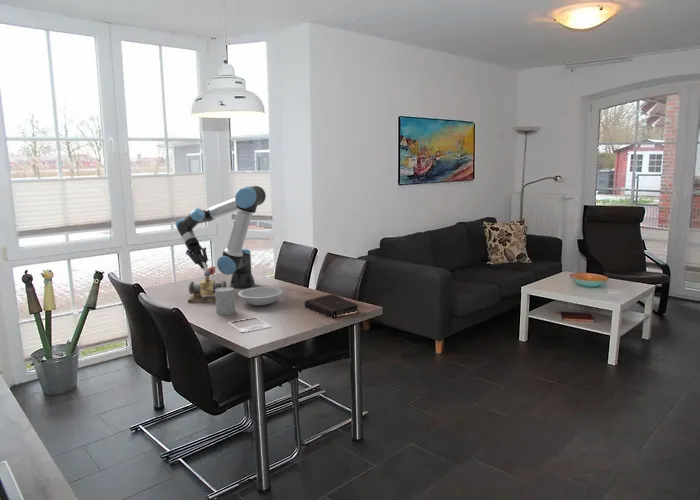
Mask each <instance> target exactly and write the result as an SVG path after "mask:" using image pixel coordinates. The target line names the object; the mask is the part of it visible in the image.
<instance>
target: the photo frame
mask: <svg viewBox="0 0 700 500" xmlns="http://www.w3.org/2000/svg"><path fill="white" fill-rule="evenodd" d="M252 318H253V319H256V320H258V321H259V320H260V321H259V322H261V323H262V322H263V323H262V324H257V325H252V326H247V327H242V328H239V327H237V325H235V324H233V323H235V322H234V321H235V320H233V321H227V322H228V325H230V324H231V325H230V326H231V327H233V326H234V327H235V328H234V327H233V328H234V329H236V330H237V329H238V330H239V331H238V330H237V331H238V332H240V333H241V332H246V333H249V332H248V331H251V332H253V331H252V330H256V331H258V330H257V329H261V330H264V329H263V328H266V329H270V328H269V327H271V328H272V326H271V325H270V324H268V323H267V322H265V321H264V320H262V319H261V318H259V317H258V316H254V317H249V318H244V319H238V320H236V321H237V322H241V321H240V320H242V321H246V319H248V320H251V319H252ZM230 322H231V323H230ZM264 323H265V324H264Z"/></svg>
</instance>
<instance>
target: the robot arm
mask: <svg viewBox="0 0 700 500" xmlns="http://www.w3.org/2000/svg"><path fill="white" fill-rule="evenodd" d="M234 195H235V196H234V198H232V199H231V198H230V199H228V200H227V201H224V202H222V203H219V204H218V203H217V204H216V205H214V206H211V207H208V208H206V209H203V210H202V209H201V208H199V207H195V208H194V209H193V210H192V211H191V212H190V213H189V214H188V215H187V216H186V217H182V218H179V219H177V220H176V222H175V228H176V229H177V231H178V233H179V234H180V236H181V238H182V241H183V242H184V245H185V247H186V248H187V250H186V251H185V255H187V256H188V257H189V258H190V260H192V262H193V263H194V264H195V265H198V266H199V267H200V269H202V271H203V273H204V272H206V271H208V269H209V268H208V267H209V265H208V264H207V262H208V261H209V259H208V255H207V247H202V246H201V244H200V242H199V240H198V238H197V236H196V234H195V232H194V229H195V227H197V226H198V225H199V224H202V223H209V222H211V221H214V220H216V219H218V218H221V217H224V216H226V215H229V214H231V213H234V212H236V214H235V218H234V220H233V221H234V222H233V226H232V229H231V233H230V236H229V239H228V242H227V243H228V244H227V246H226V248H224V249H223V251H222V255H221V256H219V257H218V258H217V261H216V262H217V263H216V266H217V267H216V268H217V269H218V270H219V272H220V273H221V274H223V275H227V276H228V275H231V278H230V282H229V287H233V288H234V289H235V288H236V289H247V288H252V287H253V286H255V285H256V284H255V279H254V275H253V273H252V257H251V256H252V255H251V250H250V249H247V248H243V247H244V243H245V239H246V237H247V232H248V229H249V226H250V223H251V219H252V216H253V214H255V213H256V211H257V207H258V206H261V205H262V204H264V202H265V200H266V197H267V196H266V191H265V190H264V188H262V187H261V186H258V185H251V186H244V187H243V186H242V188H239V189H238V190H237V191H236V193H235V194H234Z"/></svg>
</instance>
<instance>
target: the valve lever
mask: <svg viewBox="0 0 700 500" xmlns="http://www.w3.org/2000/svg"><path fill="white" fill-rule="evenodd" d="M215 273H216V266H210V267H209V268H208V271H206V272H204V271H203V274H204V275H203V276H204V277H210V276H214V274H215Z"/></svg>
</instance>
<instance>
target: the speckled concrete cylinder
mask: <svg viewBox="0 0 700 500" xmlns="http://www.w3.org/2000/svg"><path fill="white" fill-rule="evenodd" d="M214 295H215V296H216V302H215V312H216V314H217V315H219V316H229V315H231V314H235V312H236V305H235V304H236V303H235V288H234V287H231V286H226V287H220V288H216V289H215V294H214Z"/></svg>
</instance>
